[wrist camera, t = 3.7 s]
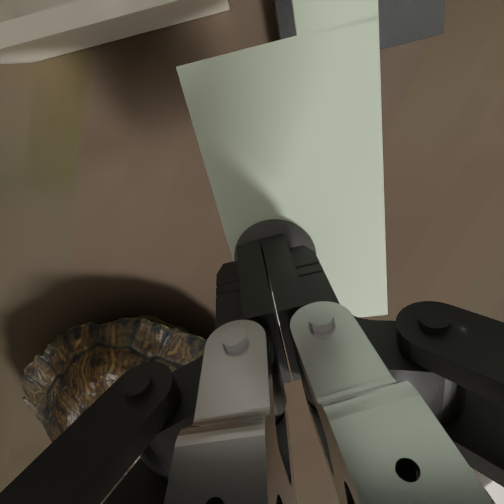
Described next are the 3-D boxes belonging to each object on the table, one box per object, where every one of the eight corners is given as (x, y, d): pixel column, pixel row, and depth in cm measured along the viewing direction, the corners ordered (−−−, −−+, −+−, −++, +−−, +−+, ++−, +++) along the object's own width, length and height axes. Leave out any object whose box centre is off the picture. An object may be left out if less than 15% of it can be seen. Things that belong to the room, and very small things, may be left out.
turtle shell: (228, 323, 17) (297, 578, 23) (233, 259, 25) (283, 458, 32) (-81, 385, 18) (68, 614, 24) (25, 304, 26) (114, 489, 33)
